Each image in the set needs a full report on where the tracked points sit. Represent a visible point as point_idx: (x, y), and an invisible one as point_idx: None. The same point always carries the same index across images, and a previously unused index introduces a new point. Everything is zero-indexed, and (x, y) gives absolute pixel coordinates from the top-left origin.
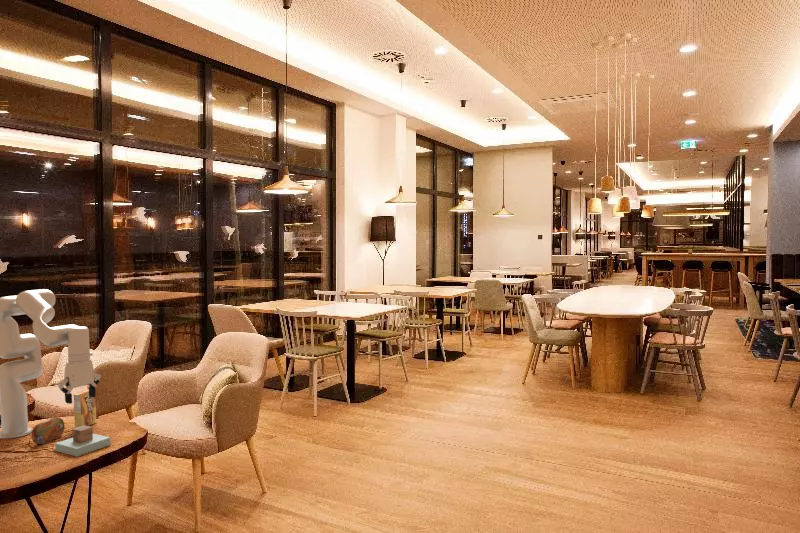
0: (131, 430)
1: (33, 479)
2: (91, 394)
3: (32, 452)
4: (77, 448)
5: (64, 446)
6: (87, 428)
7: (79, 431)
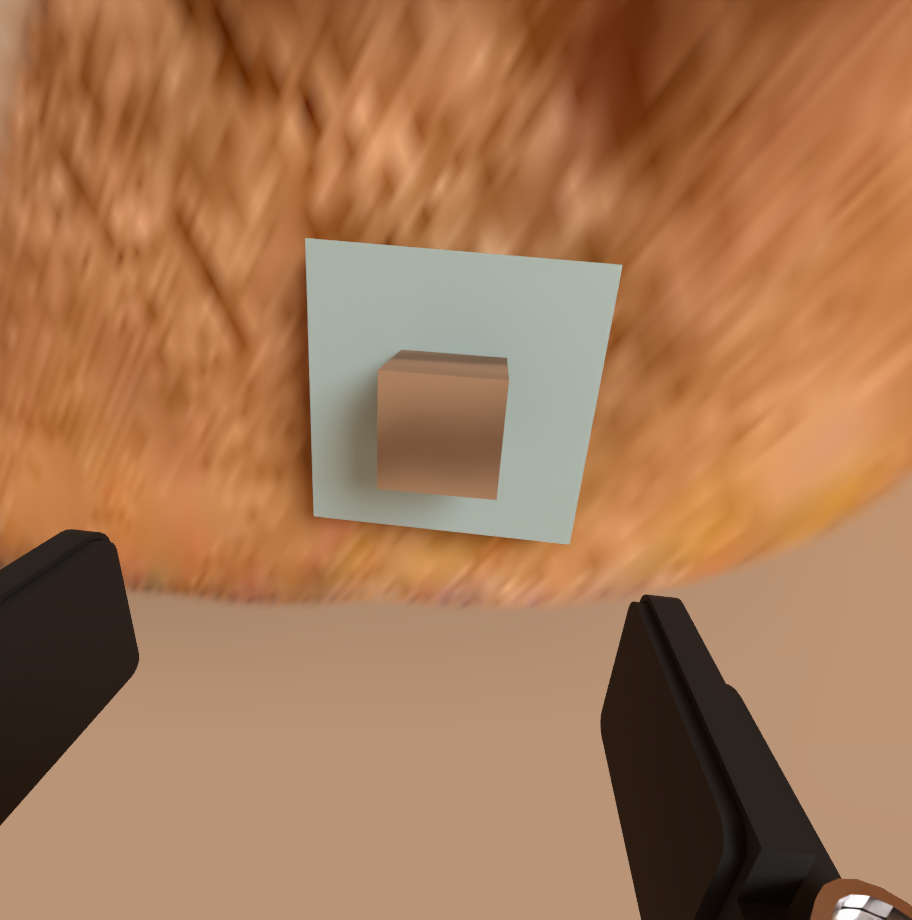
0: (889, 413)
1: None
2: (624, 723)
3: (213, 77)
4: (319, 515)
5: (311, 373)
6: (449, 493)
7: (379, 471)
